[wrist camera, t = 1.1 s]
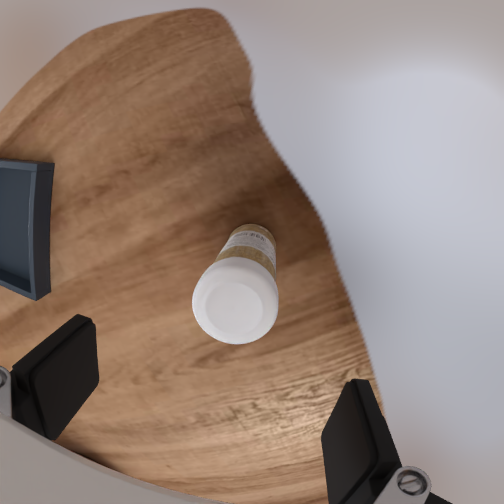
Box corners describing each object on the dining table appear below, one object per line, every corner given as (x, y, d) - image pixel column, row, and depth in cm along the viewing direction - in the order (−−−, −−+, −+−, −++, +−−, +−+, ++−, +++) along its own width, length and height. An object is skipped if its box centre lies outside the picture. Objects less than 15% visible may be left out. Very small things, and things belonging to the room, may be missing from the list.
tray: (-10, 157, 28) (-26, 158, 25) (54, 162, 28) (37, 163, 25) (-11, 266, 32) (-25, 272, 29) (51, 292, 32) (36, 301, 29)
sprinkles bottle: (220, 258, 29) (178, 325, 16) (239, 214, 28) (208, 251, 15) (264, 278, 29) (255, 359, 16) (285, 235, 28) (294, 289, 15)
